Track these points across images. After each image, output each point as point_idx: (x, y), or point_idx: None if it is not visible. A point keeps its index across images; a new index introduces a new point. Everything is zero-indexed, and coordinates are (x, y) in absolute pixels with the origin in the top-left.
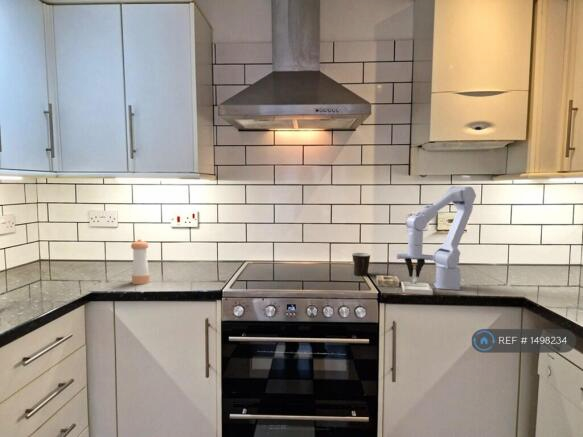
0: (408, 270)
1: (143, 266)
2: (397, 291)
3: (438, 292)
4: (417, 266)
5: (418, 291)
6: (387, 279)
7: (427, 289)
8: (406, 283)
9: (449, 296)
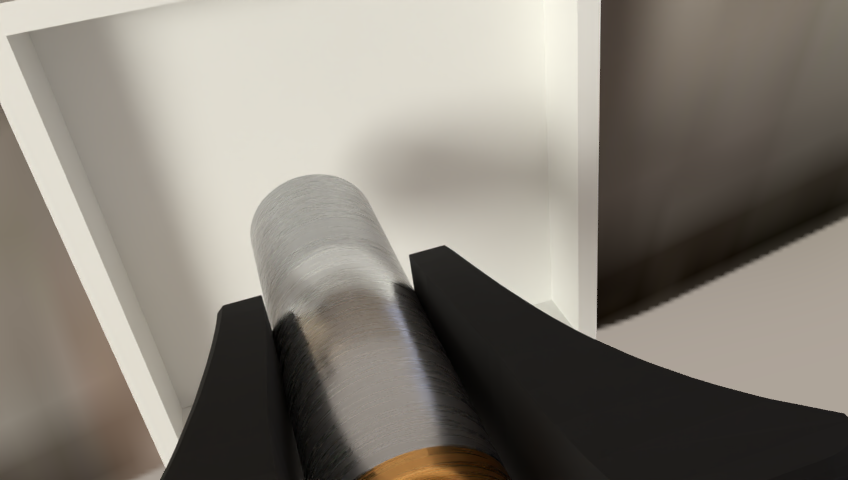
0: (203, 400)
1: None
2: (30, 365)
3: (672, 126)
4: (527, 451)
5: None
6: None
7: (534, 92)
8: (115, 4)
9: (755, 250)
